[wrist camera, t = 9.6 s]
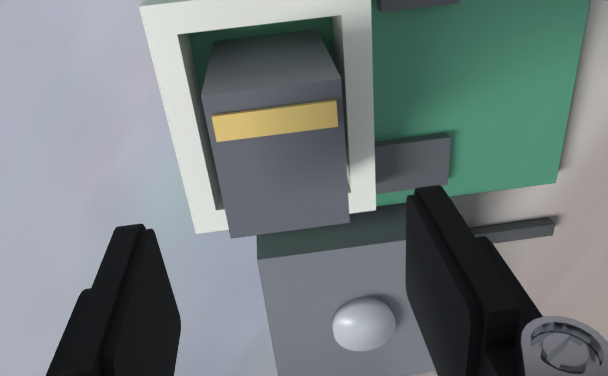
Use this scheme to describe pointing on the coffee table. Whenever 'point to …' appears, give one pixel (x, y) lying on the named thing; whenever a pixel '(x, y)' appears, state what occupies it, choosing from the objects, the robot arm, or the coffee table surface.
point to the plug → (277, 133)
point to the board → (393, 89)
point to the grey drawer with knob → (351, 294)
